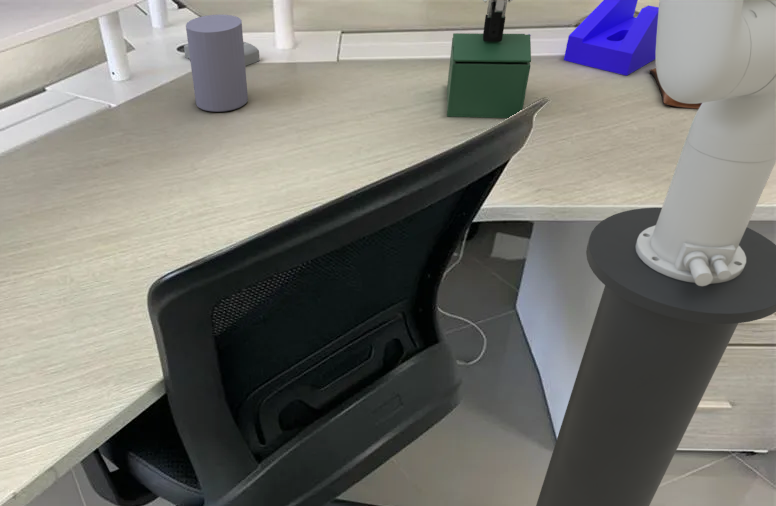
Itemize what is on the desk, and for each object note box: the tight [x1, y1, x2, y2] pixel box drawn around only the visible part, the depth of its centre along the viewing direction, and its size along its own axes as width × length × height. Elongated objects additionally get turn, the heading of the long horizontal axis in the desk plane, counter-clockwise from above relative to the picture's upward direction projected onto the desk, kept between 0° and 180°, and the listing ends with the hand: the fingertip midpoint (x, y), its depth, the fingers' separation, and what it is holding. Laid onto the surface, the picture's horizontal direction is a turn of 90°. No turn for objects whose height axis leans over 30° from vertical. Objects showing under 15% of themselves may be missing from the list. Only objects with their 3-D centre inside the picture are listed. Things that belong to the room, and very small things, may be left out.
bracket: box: [563, 0, 659, 76], centre depth 144 cm, size 21×14×10 cm, turn 132°
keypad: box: [183, 41, 261, 67], centre depth 156 cm, size 10×4×15 cm
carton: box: [446, 32, 531, 119], centre depth 129 cm, size 14×13×10 cm
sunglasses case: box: [649, 67, 702, 110], centre depth 131 cm, size 18×7×7 cm
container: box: [185, 14, 249, 113], centre depth 134 cm, size 10×10×15 cm
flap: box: [453, 33, 532, 63], centre depth 122 cm, size 7×13×1 cm, turn 79°
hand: (492, 39), depth 123 cm, fingers closed
